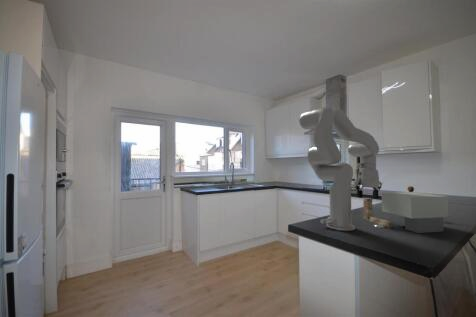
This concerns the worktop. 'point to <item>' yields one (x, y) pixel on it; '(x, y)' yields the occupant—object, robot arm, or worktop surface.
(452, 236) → the worktop surface
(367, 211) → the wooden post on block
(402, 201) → the grey block
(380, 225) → the grey shiny disc
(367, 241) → the worktop surface
